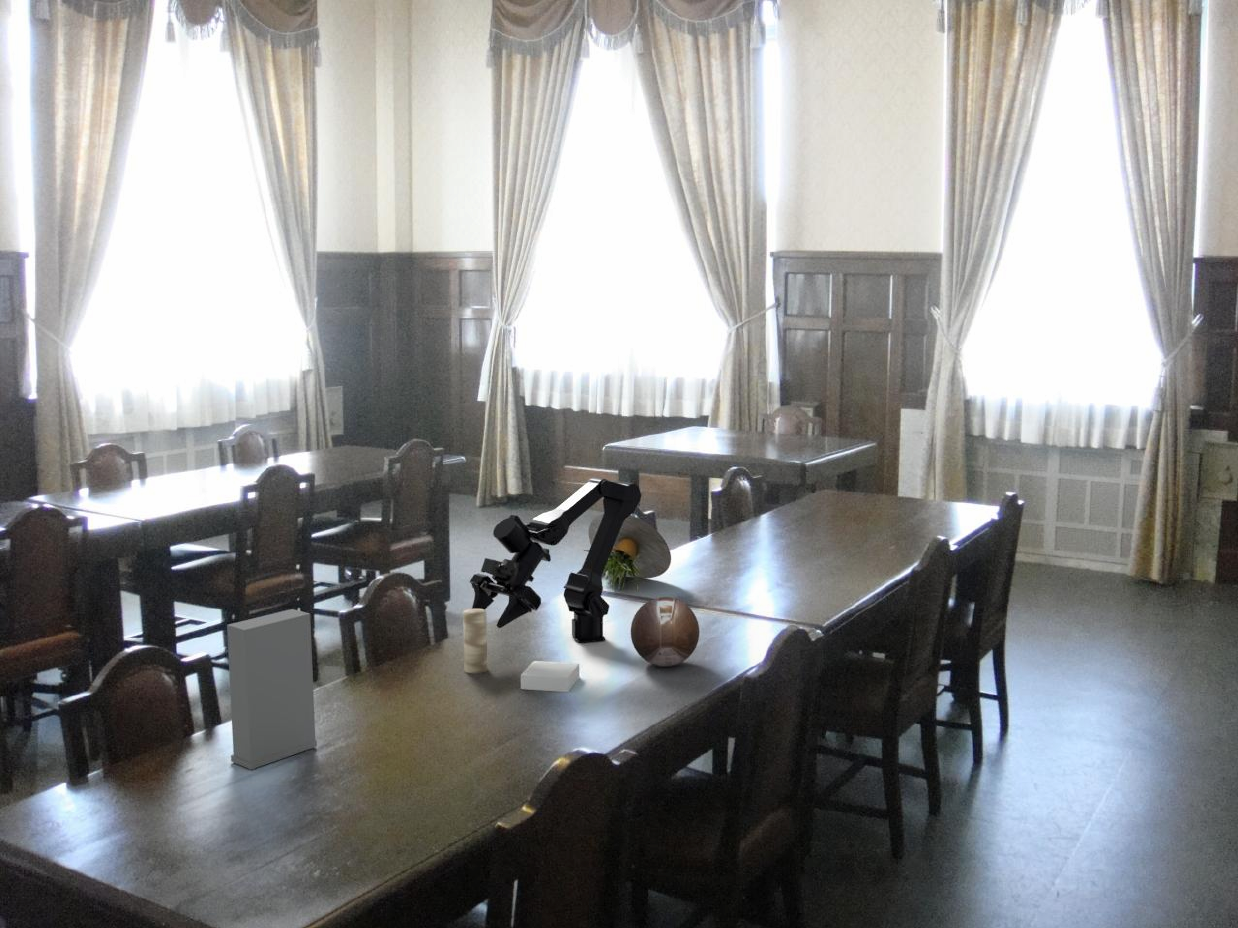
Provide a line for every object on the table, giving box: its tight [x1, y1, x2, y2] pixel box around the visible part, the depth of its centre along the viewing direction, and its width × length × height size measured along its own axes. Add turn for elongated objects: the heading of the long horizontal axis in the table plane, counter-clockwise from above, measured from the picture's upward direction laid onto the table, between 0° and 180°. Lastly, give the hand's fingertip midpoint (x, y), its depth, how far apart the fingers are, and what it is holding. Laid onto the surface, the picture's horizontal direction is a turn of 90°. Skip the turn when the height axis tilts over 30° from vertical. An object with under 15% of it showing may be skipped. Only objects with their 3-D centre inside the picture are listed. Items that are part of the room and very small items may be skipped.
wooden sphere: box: [630, 596, 700, 668], centre depth 271 cm, size 15×15×15 cm
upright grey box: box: [226, 608, 318, 771], centre depth 219 cm, size 14×6×25 cm, turn 141°
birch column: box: [462, 608, 489, 674], centre depth 268 cm, size 5×5×13 cm
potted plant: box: [583, 513, 672, 592], centre depth 342 cm, size 25×18×25 cm
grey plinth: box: [520, 660, 580, 693], centre depth 260 cm, size 10×10×3 cm
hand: (484, 623), depth 270 cm, fingers open, 9 cm apart
